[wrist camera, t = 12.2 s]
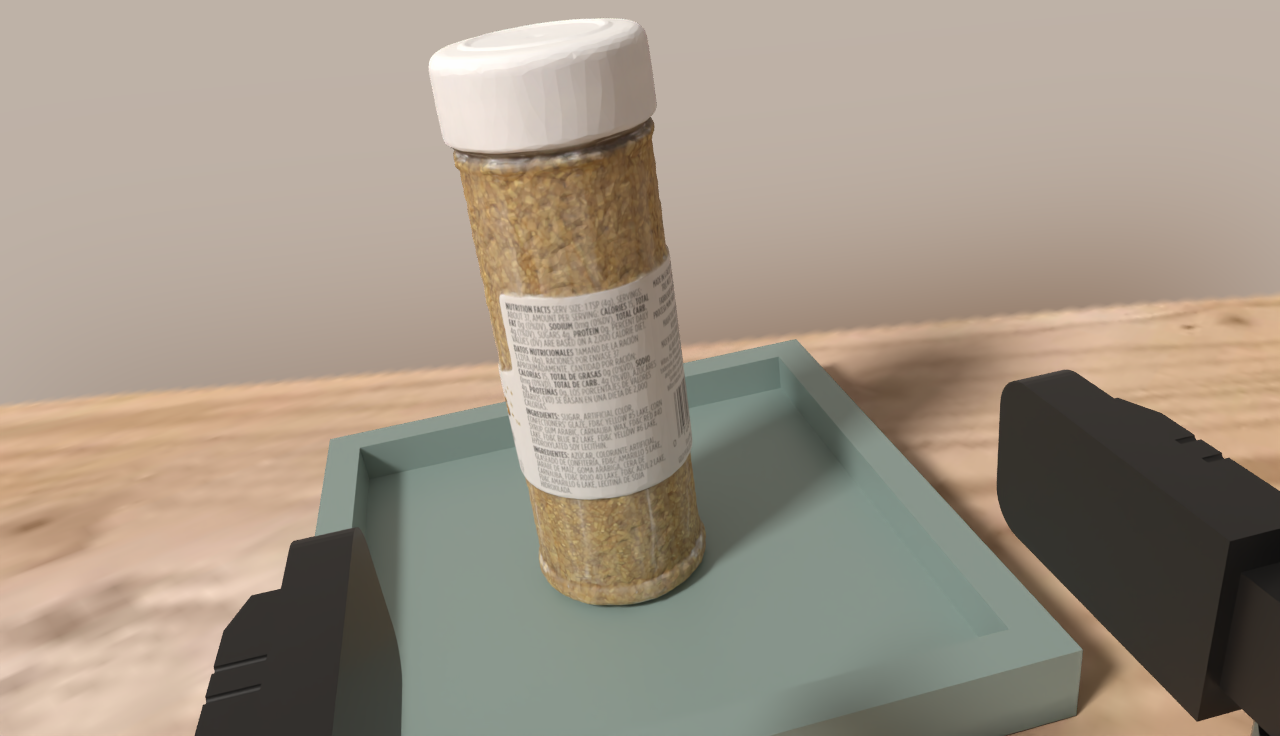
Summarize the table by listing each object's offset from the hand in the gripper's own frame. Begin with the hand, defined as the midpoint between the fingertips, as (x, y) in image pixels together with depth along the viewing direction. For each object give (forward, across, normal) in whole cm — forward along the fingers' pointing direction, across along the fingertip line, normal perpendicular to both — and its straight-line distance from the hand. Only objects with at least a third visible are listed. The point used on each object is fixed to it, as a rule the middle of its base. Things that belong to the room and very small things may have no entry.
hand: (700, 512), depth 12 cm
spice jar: (+11, 0, +9) cm, 14 cm away
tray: (+11, 0, +10) cm, 15 cm away
